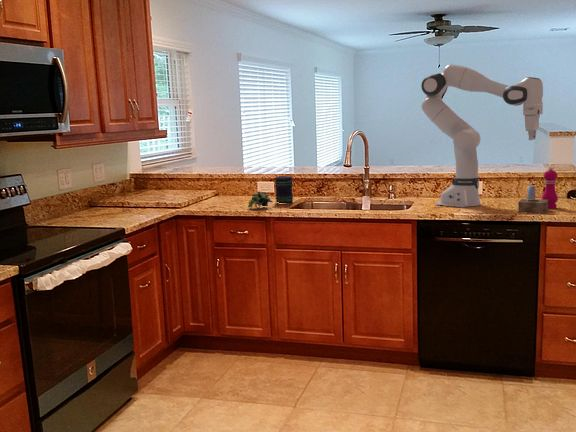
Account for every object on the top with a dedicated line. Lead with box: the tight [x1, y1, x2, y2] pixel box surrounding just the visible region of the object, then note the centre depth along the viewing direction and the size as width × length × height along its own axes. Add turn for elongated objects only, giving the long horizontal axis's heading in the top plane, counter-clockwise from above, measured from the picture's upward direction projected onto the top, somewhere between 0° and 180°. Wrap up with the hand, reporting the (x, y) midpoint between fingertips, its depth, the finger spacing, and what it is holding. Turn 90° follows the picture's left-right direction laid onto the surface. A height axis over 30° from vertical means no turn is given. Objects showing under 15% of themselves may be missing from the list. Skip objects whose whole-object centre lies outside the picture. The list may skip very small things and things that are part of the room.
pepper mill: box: [541, 166, 559, 210], centre depth 293 cm, size 7×7×20 cm
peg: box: [526, 185, 536, 199], centre depth 301 cm, size 4×4×10 cm
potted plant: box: [247, 191, 273, 209], centre depth 328 cm, size 11×11×12 cm
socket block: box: [517, 198, 549, 214], centre depth 287 cm, size 12×10×5 cm
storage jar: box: [274, 175, 294, 204], centre depth 343 cm, size 10×10×15 cm
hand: (532, 139), depth 295 cm, fingers open, 8 cm apart
